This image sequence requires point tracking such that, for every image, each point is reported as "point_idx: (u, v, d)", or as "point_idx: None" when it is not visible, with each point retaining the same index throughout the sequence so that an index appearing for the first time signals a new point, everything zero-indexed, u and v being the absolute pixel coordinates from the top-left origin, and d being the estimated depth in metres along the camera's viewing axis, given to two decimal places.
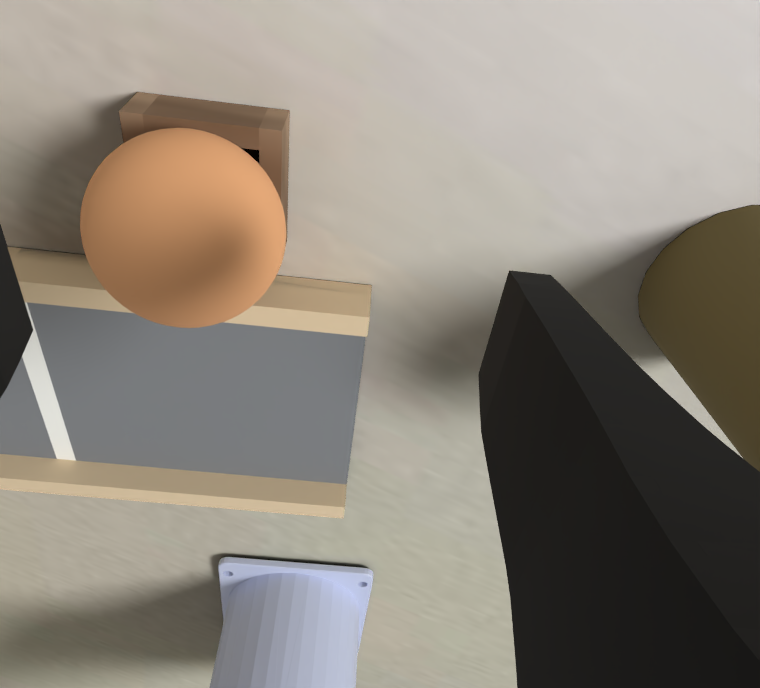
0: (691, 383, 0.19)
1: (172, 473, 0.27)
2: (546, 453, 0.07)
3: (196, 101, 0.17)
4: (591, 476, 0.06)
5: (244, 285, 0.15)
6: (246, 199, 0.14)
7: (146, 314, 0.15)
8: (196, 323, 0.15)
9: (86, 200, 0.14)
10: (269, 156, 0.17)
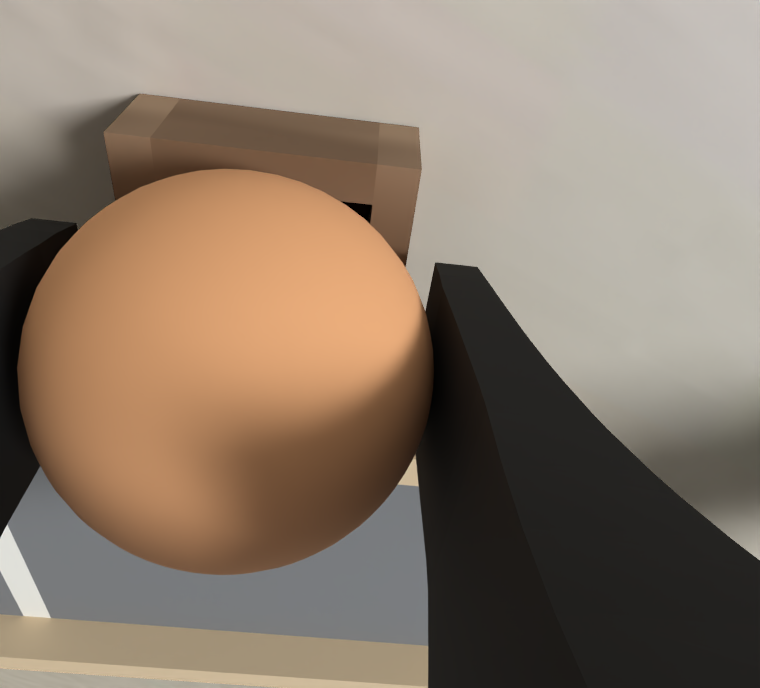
0: None
1: (188, 635, 0.19)
2: (453, 445, 0.07)
3: (249, 112, 0.09)
4: (479, 466, 0.06)
5: (369, 507, 0.07)
6: (384, 334, 0.06)
7: (159, 564, 0.07)
8: None
9: (27, 337, 0.06)
10: (391, 216, 0.09)
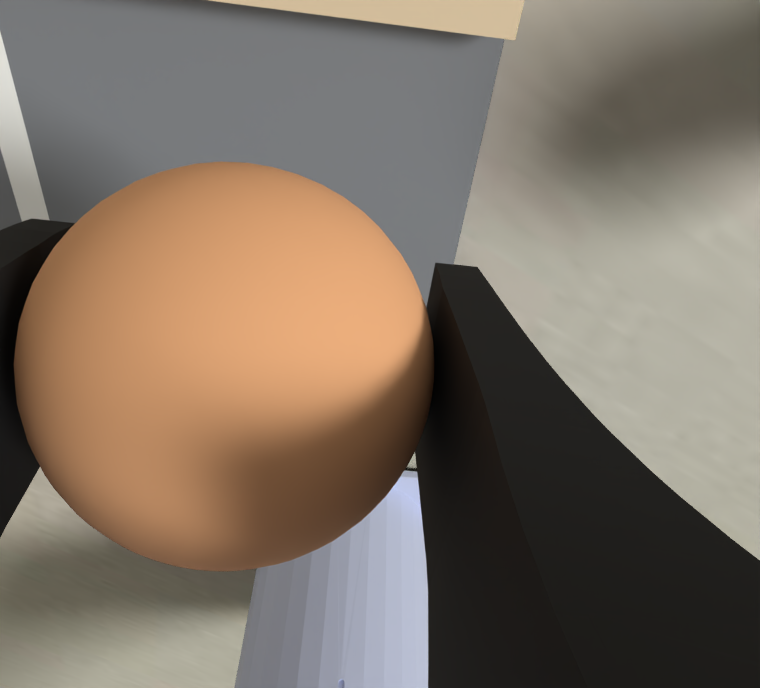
0: None
1: None
2: (453, 444, 0.07)
3: None
4: (480, 466, 0.06)
5: (370, 501, 0.07)
6: (382, 325, 0.06)
7: (159, 561, 0.07)
8: None
9: (22, 332, 0.06)
10: None
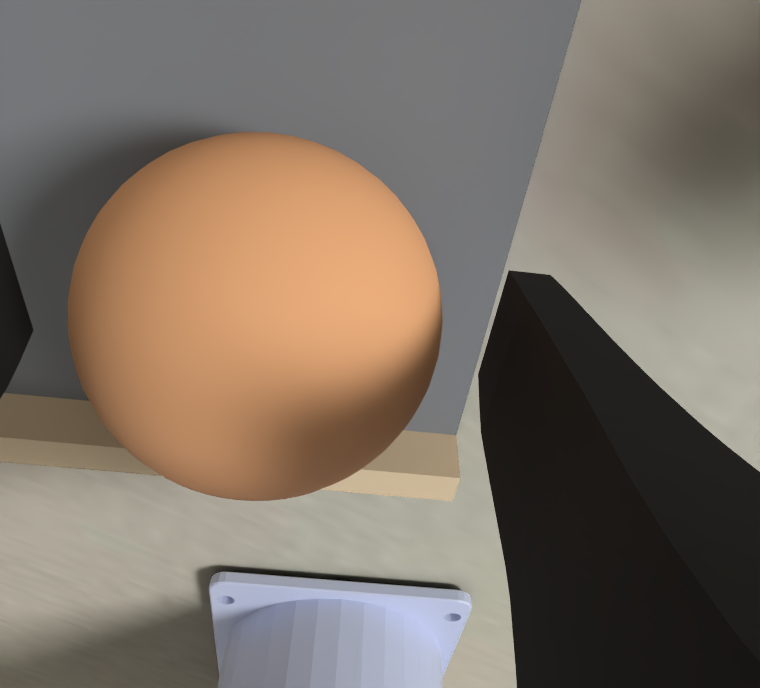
0: None
1: None
2: (545, 453, 0.07)
3: None
4: (590, 476, 0.06)
5: (395, 427, 0.08)
6: (403, 268, 0.07)
7: (208, 493, 0.08)
8: (299, 495, 0.08)
9: (81, 287, 0.07)
10: None
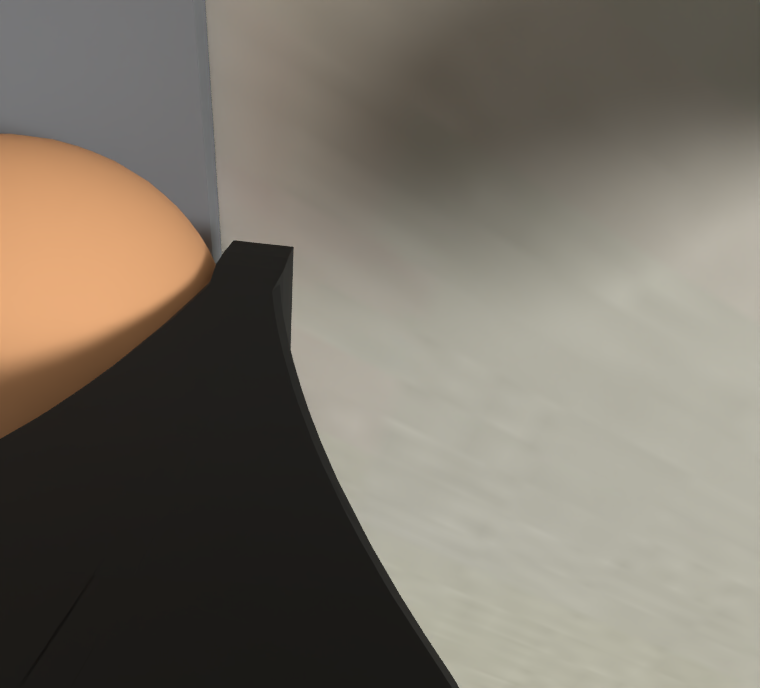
0: None
1: None
2: None
3: None
4: None
5: None
6: (175, 210, 0.08)
7: None
8: None
9: None
10: None
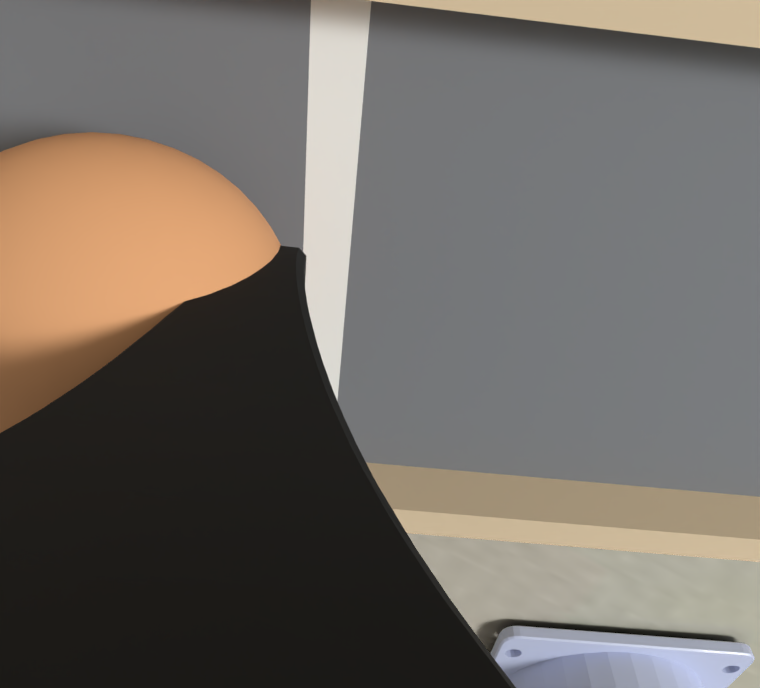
0: None
1: (515, 483, 0.14)
2: None
3: None
4: None
5: None
6: None
7: None
8: None
9: (149, 287, 0.07)
10: None
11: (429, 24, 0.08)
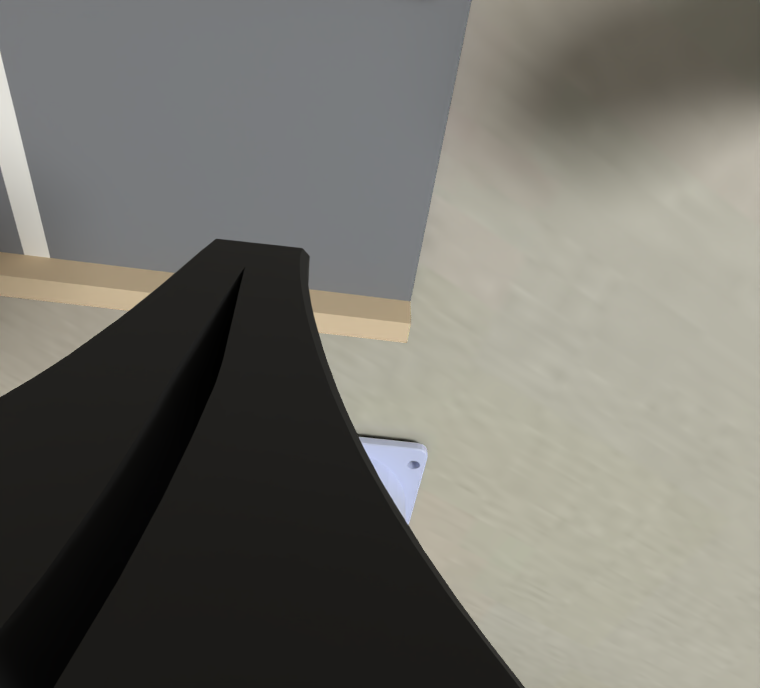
0: None
1: None
2: None
3: None
4: None
5: None
6: None
7: None
8: None
9: None
10: None
11: None
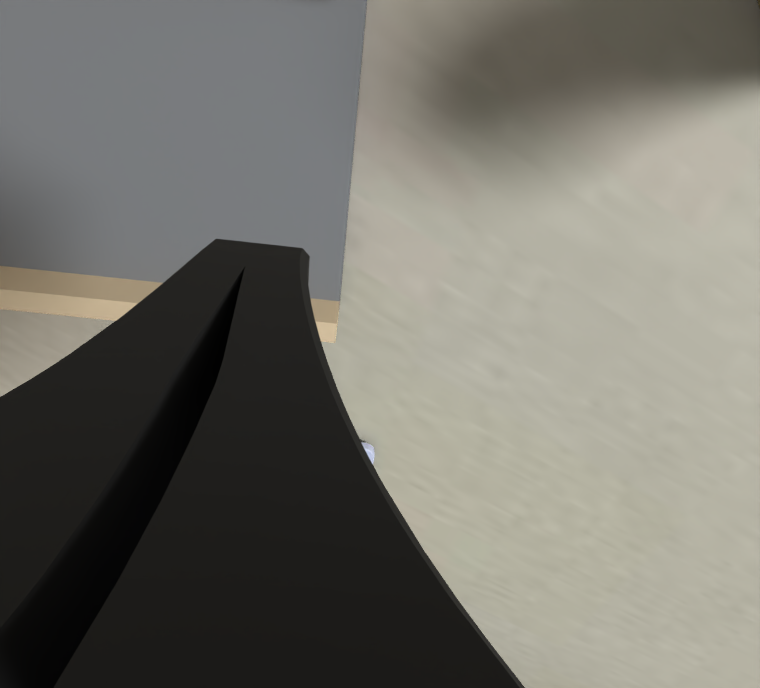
0: None
1: (108, 281, 0.20)
2: None
3: None
4: None
5: None
6: None
7: None
8: None
9: None
10: None
11: None
